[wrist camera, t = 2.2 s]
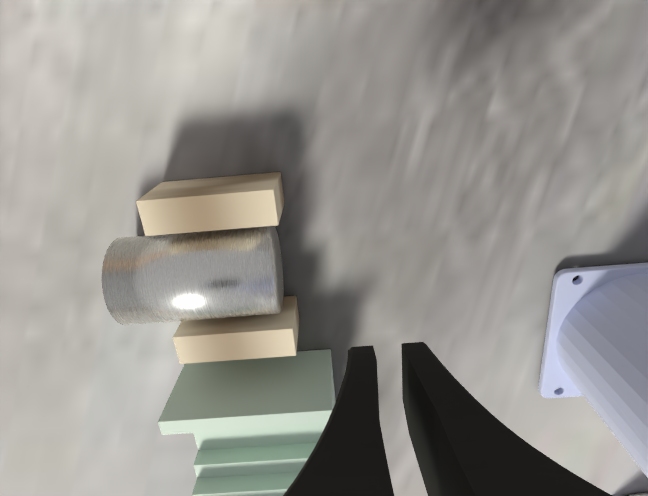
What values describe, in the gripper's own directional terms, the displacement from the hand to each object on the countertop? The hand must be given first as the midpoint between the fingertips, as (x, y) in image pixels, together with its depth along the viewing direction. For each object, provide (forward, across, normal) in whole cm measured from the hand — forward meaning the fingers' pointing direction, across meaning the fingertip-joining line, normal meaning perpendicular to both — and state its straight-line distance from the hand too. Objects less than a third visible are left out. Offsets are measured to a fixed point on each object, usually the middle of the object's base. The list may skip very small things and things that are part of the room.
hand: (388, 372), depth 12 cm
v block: (+9, +6, +10) cm, 15 cm away
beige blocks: (+9, +6, 0) cm, 11 cm away
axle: (+10, +8, 0) cm, 12 cm away
